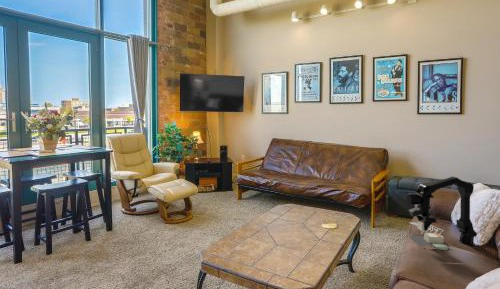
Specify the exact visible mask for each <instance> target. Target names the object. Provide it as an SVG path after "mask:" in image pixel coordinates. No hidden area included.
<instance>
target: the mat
mask: <svg viewBox="0 0 500 289" xmlns="http://www.w3.org/2000/svg"><path fill="white" fill-rule="evenodd" d="M408 237H409V238H410V240H412V241H413V242H414V243H416V244H417V245H418V246H419V247H422V246H425V245H426V246H427V245H429V246H431V247H433V246H432V245H433V243H428V242H427V241H426V240H425V239H424V235H408ZM440 244H444V245H446V244H445V243H444V242H443V243H440ZM437 251H440V250H439V249H438V250H437ZM447 251H452V252H453V249H452V248H450V247H449V249H448V250H447Z"/></svg>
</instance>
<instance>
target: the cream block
mask: <svg viewBox="0 0 500 289" xmlns="http://www.w3.org/2000/svg"><path fill="white" fill-rule="evenodd" d="M417 223H418V225H417V226H416V228H417V230H420V232H421V233H422V232H423V233H426V232H427V233H429V231H430V230H429V228H428V229H427V231H425V230H424V222H423V221H422V220H418V219H417Z"/></svg>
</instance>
